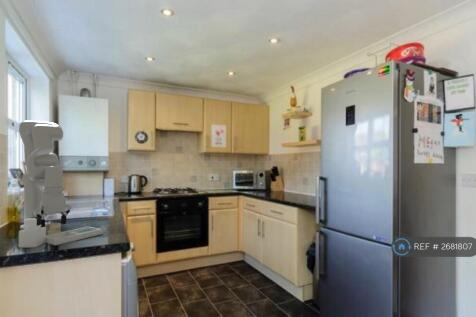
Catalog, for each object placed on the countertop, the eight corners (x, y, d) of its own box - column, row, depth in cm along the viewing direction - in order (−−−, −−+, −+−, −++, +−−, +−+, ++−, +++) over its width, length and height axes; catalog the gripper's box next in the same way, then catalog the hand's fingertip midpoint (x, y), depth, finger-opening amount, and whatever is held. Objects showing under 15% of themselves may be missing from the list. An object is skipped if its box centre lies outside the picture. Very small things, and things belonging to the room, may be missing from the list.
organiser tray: (41, 241, 127) (41, 236, 127) (87, 231, 147) (87, 226, 147) (55, 245, 122) (55, 239, 122) (102, 234, 141) (102, 229, 141)
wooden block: (44, 236, 136) (44, 224, 136) (55, 234, 141) (55, 222, 141) (50, 237, 134) (50, 225, 134) (60, 235, 138) (61, 223, 138)
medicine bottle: (29, 243, 125) (29, 216, 125) (46, 242, 125) (46, 216, 126) (18, 247, 118) (18, 219, 118) (35, 247, 118) (36, 219, 118)
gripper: (66, 189, 147) (66, 222, 146) (29, 192, 132) (29, 228, 131) (75, 189, 143) (75, 223, 143) (38, 192, 128) (37, 230, 128)
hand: (53, 225), depth 137 cm, fingers open, 9 cm apart
